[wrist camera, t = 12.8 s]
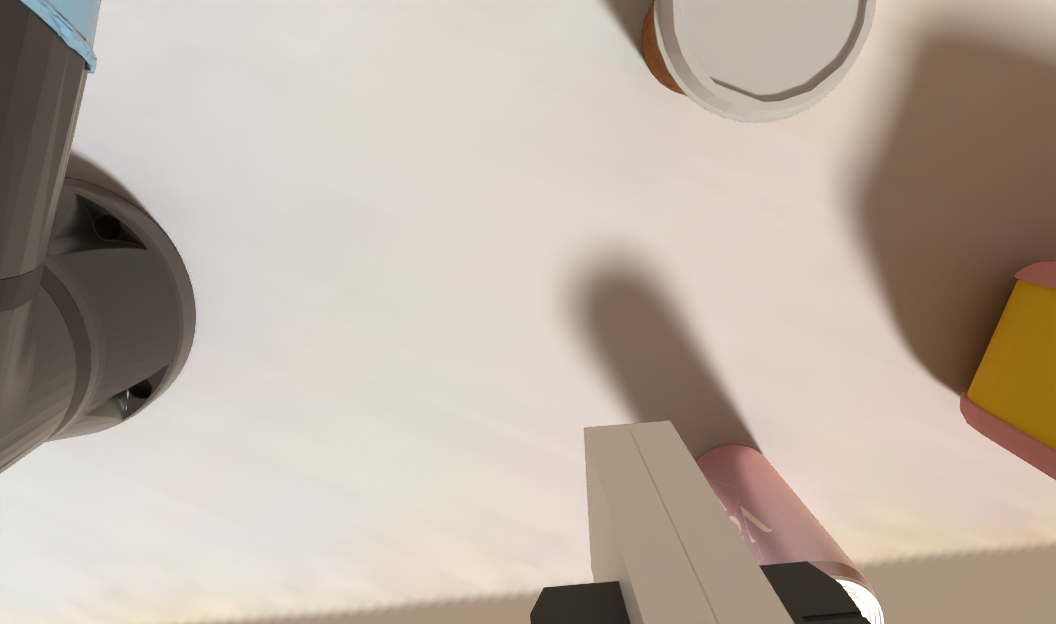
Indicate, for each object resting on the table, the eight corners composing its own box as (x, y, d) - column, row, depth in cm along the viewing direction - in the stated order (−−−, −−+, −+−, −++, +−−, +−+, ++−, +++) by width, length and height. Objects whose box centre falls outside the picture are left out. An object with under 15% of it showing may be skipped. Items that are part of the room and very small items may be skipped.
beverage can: (732, 537, 50) (831, 705, 35) (664, 492, 49) (738, 646, 34) (788, 470, 49) (914, 615, 34) (720, 423, 48) (820, 552, 33)
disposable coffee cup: (579, 28, 42) (614, -11, 30) (711, -92, 40) (801, -180, 29) (681, 158, 44) (751, 169, 32) (810, 47, 42) (931, 17, 31)
